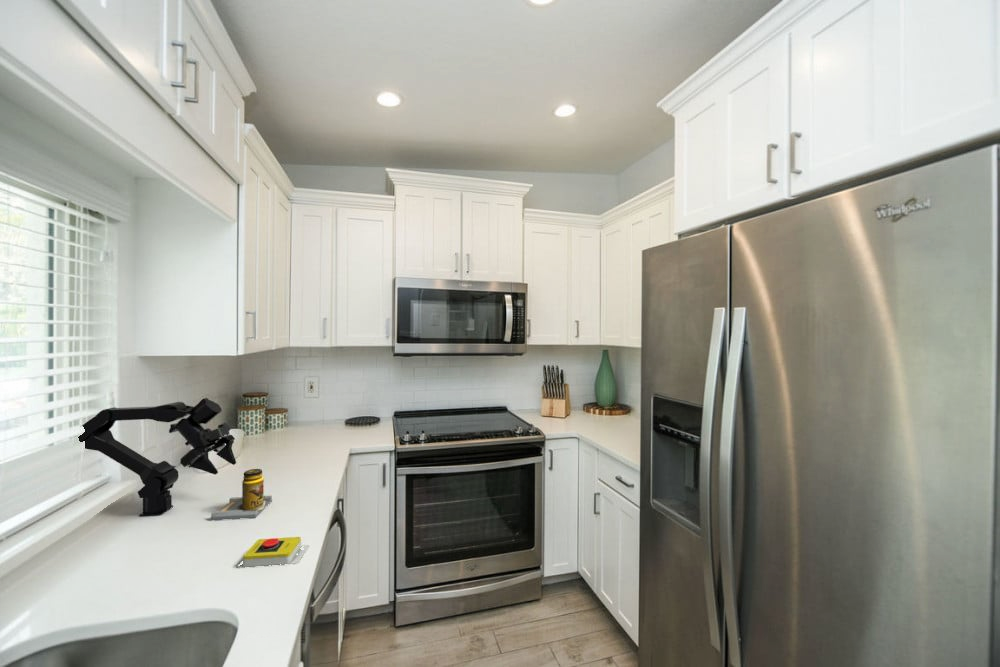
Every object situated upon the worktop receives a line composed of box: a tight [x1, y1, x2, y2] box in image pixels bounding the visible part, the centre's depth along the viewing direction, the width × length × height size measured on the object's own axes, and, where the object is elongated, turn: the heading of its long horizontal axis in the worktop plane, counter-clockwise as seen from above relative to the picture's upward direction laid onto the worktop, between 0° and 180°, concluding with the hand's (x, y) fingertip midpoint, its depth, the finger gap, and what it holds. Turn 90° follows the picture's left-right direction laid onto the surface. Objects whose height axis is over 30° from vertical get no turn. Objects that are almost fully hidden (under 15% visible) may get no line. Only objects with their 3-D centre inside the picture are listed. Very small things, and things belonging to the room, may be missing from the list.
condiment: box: [235, 468, 266, 510], centre depth 136 cm, size 7×8×12 cm
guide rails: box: [210, 494, 273, 518], centre depth 136 cm, size 13×12×1 cm
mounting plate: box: [210, 498, 273, 521], centre depth 136 cm, size 13×13×1 cm
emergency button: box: [236, 536, 310, 569], centre depth 108 cm, size 9×4×15 cm
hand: (226, 468), depth 137 cm, fingers open, 9 cm apart
